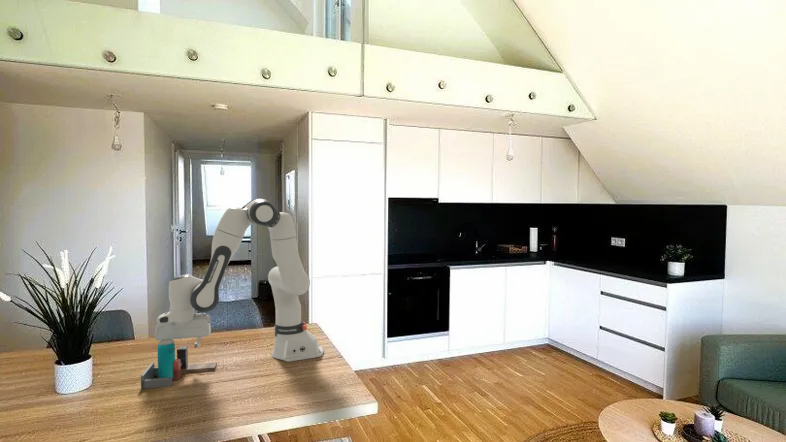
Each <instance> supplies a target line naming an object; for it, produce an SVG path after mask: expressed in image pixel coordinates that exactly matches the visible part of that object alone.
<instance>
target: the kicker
mask: <svg viewBox="0 0 786 442" xmlns="http://www.w3.org/2000/svg"><path fill="white" fill-rule="evenodd" d="M188 349H189V348H188V346H186V345H185V346H178V348H176V358H175V361H174V379H173V381H177V380H180V378H181V375H182V373H181V369H186V368H187V366H188V365H189V360H188V359H189V356H188V352H189V350H188Z"/></svg>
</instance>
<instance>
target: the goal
mask: <svg viewBox="0 0 786 442" xmlns="http://www.w3.org/2000/svg"><path fill="white" fill-rule="evenodd" d="M154 376H157V378H154ZM172 385H173V380H172V377H169V378H158V366H155V362H151V363H150V364H149V365H148V366H147V367H146V368H145V370H144V371H143V373H141V374H140V389H141V390H144V389H154V388H155V389H156V388H158V389H159V388H165V387H172Z"/></svg>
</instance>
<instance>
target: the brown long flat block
mask: <svg viewBox="0 0 786 442" xmlns="http://www.w3.org/2000/svg"><path fill="white" fill-rule="evenodd" d="M217 366H218V363H217V361H216V362H215V361H214V362H206V363H205V362H204V363H193V364H192V363H190V364H189V363H188V366H187V368H186V369H181V374H186V373H198V372H211V371H216V368H217Z"/></svg>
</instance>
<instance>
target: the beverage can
mask: <svg viewBox="0 0 786 442" xmlns="http://www.w3.org/2000/svg"><path fill="white" fill-rule="evenodd" d="M175 347H176V344H175V339H167V340H160V341H158V344H157V367H158V375H157V378H169V377H172V381H174V361H175V359H176V348H175Z"/></svg>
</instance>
